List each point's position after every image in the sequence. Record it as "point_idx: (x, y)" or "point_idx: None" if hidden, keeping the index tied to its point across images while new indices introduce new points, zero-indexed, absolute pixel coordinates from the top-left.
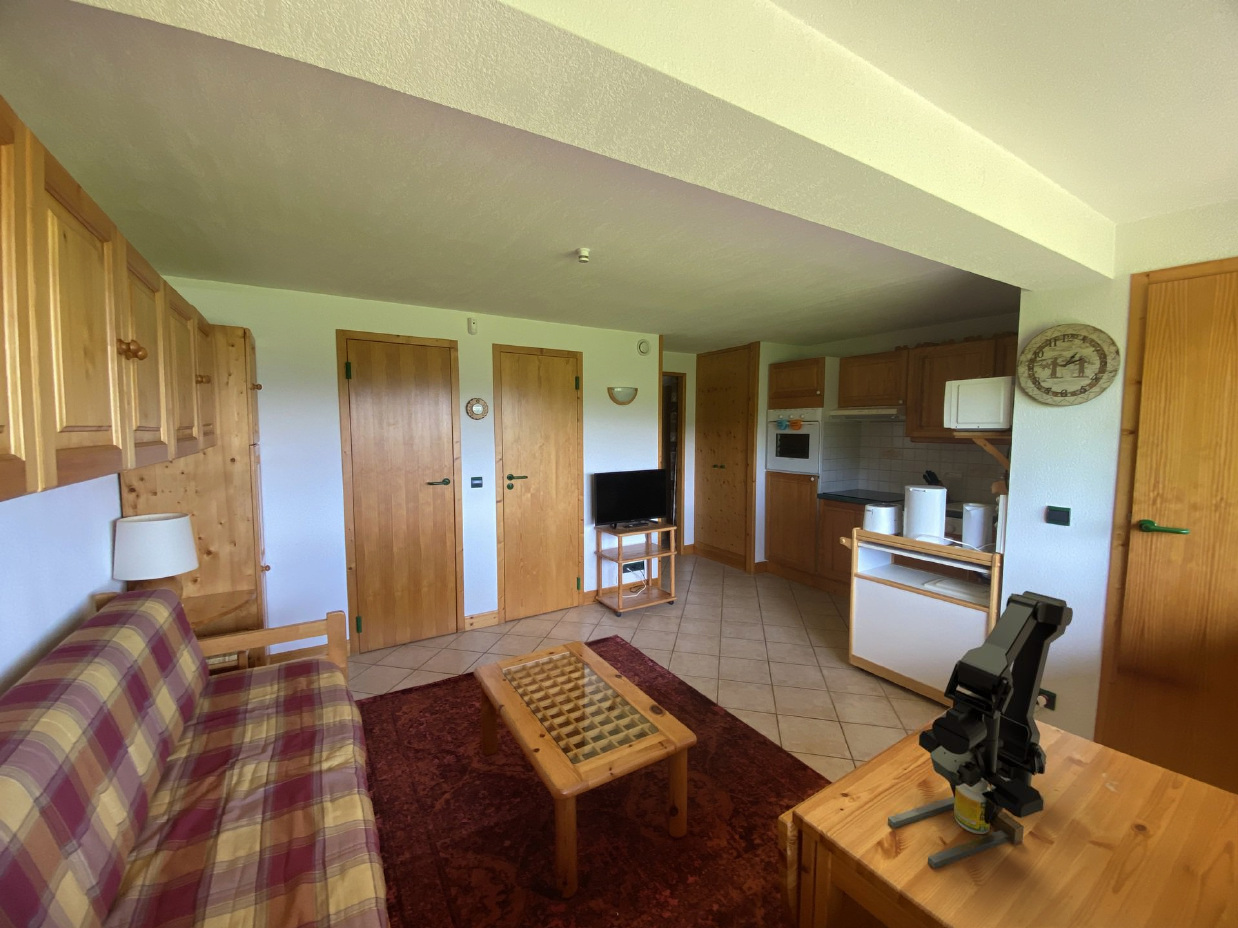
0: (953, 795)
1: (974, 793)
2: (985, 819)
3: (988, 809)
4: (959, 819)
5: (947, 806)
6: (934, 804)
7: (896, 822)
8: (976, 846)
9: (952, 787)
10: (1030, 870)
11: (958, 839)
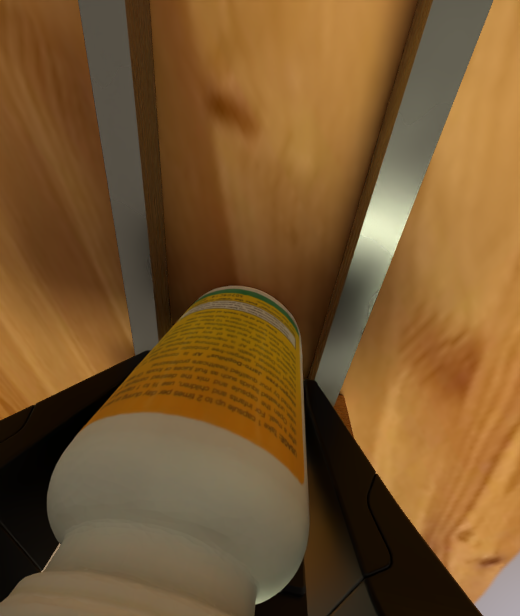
0: (319, 386)
1: (75, 492)
2: (141, 359)
3: (43, 413)
4: (248, 295)
5: (327, 329)
6: (369, 284)
7: None
8: (117, 210)
9: (330, 425)
10: (53, 306)
11: (209, 207)
